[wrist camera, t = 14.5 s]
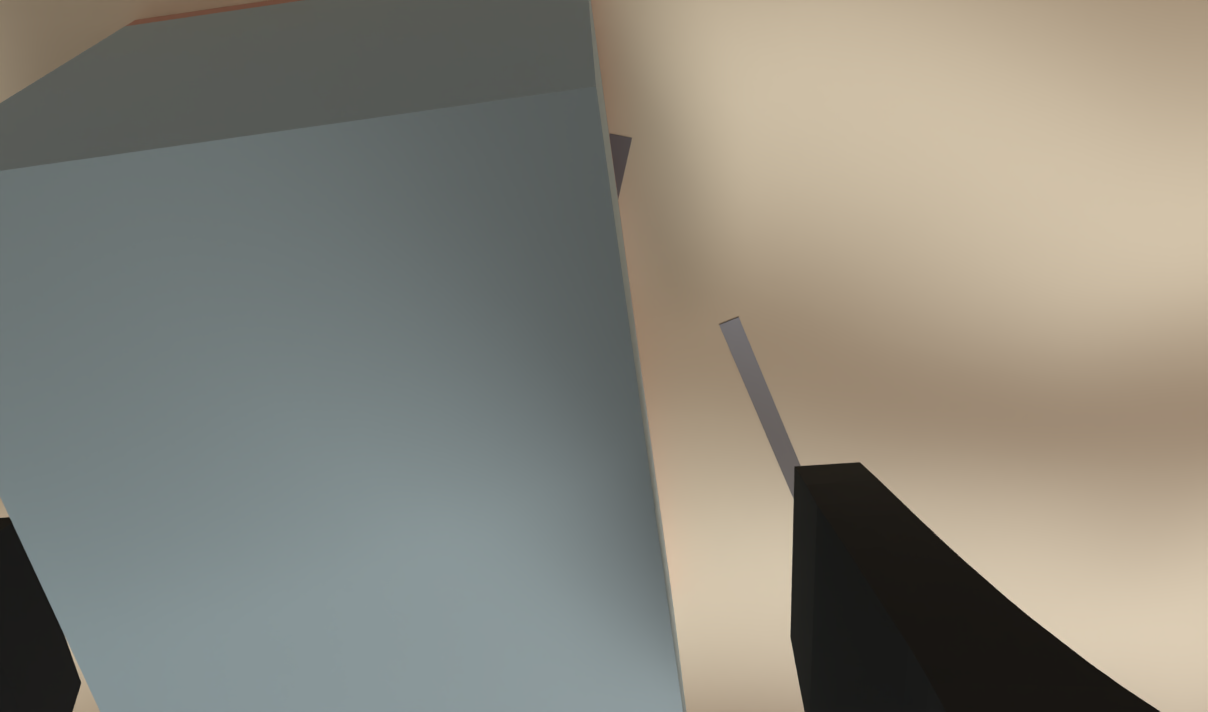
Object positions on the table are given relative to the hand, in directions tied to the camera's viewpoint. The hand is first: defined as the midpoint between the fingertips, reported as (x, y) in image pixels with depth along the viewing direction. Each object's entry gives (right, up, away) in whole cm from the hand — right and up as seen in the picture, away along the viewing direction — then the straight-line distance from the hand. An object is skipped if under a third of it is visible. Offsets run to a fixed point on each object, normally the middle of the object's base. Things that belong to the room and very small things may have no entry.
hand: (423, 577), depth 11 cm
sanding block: (0, +2, +2) cm, 3 cm away
